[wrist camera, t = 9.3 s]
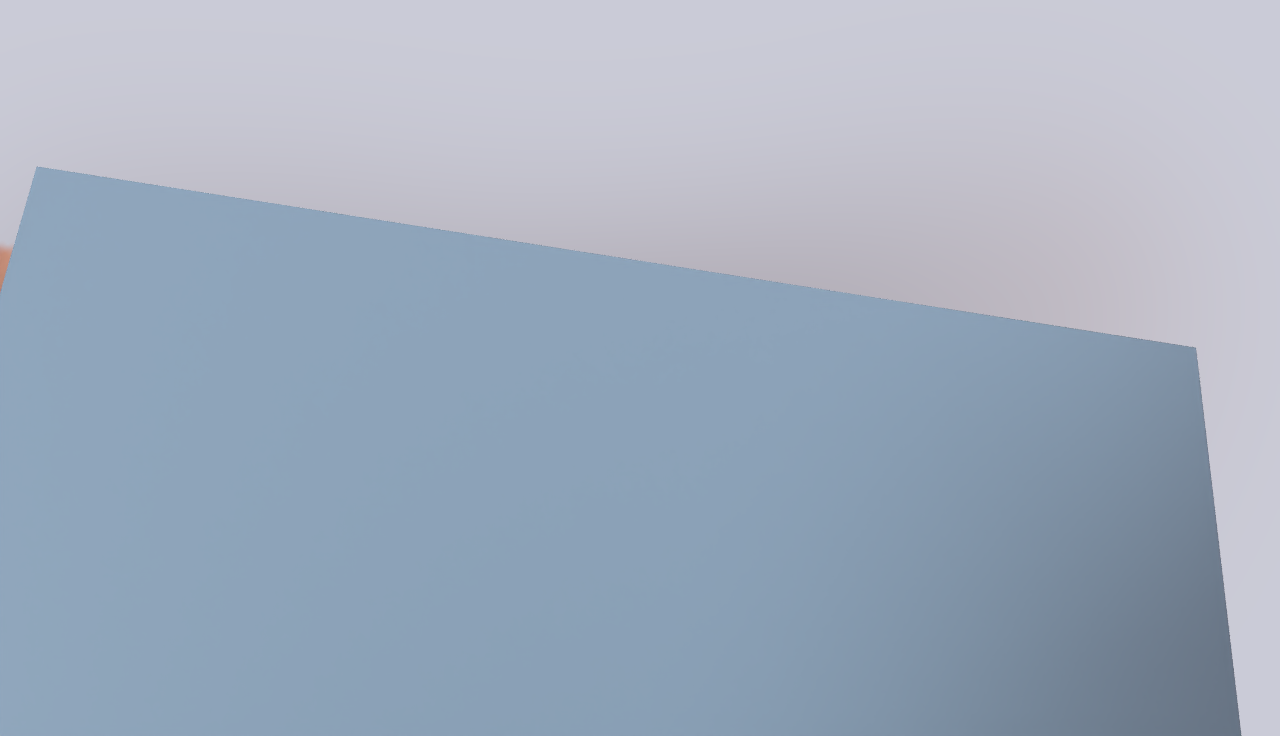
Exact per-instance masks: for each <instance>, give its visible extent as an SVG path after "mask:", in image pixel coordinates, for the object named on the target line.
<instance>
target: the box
mask: <svg viewBox="0 0 1280 736" xmlns="http://www.w3.org/2000/svg"><path fill="white" fill-rule="evenodd" d="M1199 379H1200V378H1199V371H1198V361H1197V353H1196V348H1194V347H1188V346H1182V345H1175V344H1169V343H1162V342H1156V341H1150V340H1143V339H1137V338H1130V337H1124V336H1118V335H1111V334H1105V333H1098V332H1092V331H1086V330H1079V329H1073V328H1066V327H1060V326H1053V325H1047V324H1040V323H1035V322H1028V321H1022V320H1015V319H1009V318H1003V317H995V316H990V315H983V314H977V313H970V312H964V311H958V310H951V309H945V308H938V307H932V306H926V305H919V304H913V303H907V302H900V301H893V300H887V299H881V298H874V297H868V296H861V295H855V294H849V293H843V292H836V291H830V290H823V289H816V288H811V287H804V286H797V285H791V284H784V283H778V282H772V281H766V280H759V279H753V278H746V277H740V276H734V275H727V274H721V273H714V272H708V271H702V270H695V269H689V268H683V267H676V266H669V265H663V264H657V263H651V262H643V261H637V260H631V259H625V258H619V257H612V256H606V255H599V254H593V253H586V252H580V251H573V250H567V249H561V248H554V247H548V246H542V245H535V244H529V243H523V242H516V241H510V240H502V239H497V238H491V237H484V236H477V235H470V234H465V233H459V232H451V231H445V230H440V229H433V228H427V227H420V226H413V225H407V224H401V223H395V222H388V221H382V220H376V219H369V218H362V217H355V216H349V215H343V214H337V213H331V212H324V211H317V210H312V209H305V208H299V207H292V206H286V205H280V204H273V203H267V202H260V201H253V200H247V199H241V198H235V197H228V196H221V195H215V194H209V193H203V192H196V191H190V190H184V189H177V188H171V187H164V186H158V185H152V184H145V183H139V182H132V181H126V180H119V179H113V178H107V177H100V176H94V175H88V174H81V173H75V172H68V171H62V170H56V169H49V168H42V167H37V168H36V171H35V175H34V178H33V181H32V185H31V189H30V192H29V196H28V199H27V202H26V206H25V209H24V213H23V216H22V220H21V223H20V226H19V230H18V233H17V237H16V240H15V244H14V247H13V251H12V254H11V258H10V261H9V264H8V268H7V271H6V275H5V278H4V282H3V285H2V289H1V292H0V736H1241V730H1240V720H1239V712H1238V703H1237V695H1236V687H1235V678H1234V669H1233V660H1232V653H1231V643H1230V635H1229V626H1228V618H1227V609H1226V601H1225V593H1224V583H1223V575H1222V566H1221V558H1220V549H1219V541H1218V533H1217V524H1216V515H1215V507H1214V498H1213V490H1212V481H1211V473H1210V464H1209V455H1208V447H1207V439H1206V430H1205V421H1204V413H1203V404H1202V396H1201V387H1200V380H1199Z"/></svg>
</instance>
